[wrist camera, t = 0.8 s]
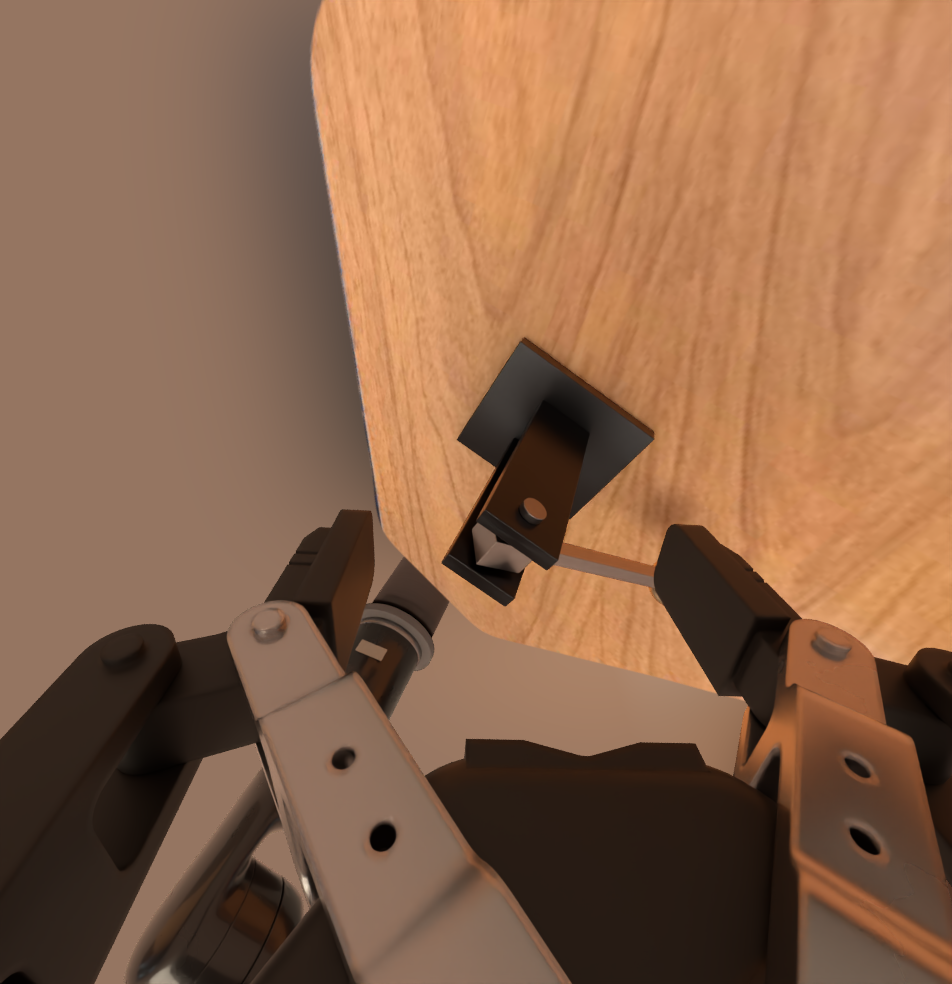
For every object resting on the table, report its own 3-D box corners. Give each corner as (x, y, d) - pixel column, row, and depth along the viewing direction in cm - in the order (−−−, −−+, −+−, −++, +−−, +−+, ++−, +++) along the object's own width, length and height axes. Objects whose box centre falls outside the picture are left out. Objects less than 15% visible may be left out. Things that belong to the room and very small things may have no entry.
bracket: (654, 432, 32) (658, 578, 20) (571, 511, 38) (534, 661, 26) (524, 337, 31) (442, 426, 19) (461, 433, 37) (368, 549, 25)
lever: (701, 551, 30) (726, 597, 28) (663, 577, 33) (683, 621, 30) (495, 489, 23) (505, 544, 21) (464, 527, 25) (470, 580, 23)
